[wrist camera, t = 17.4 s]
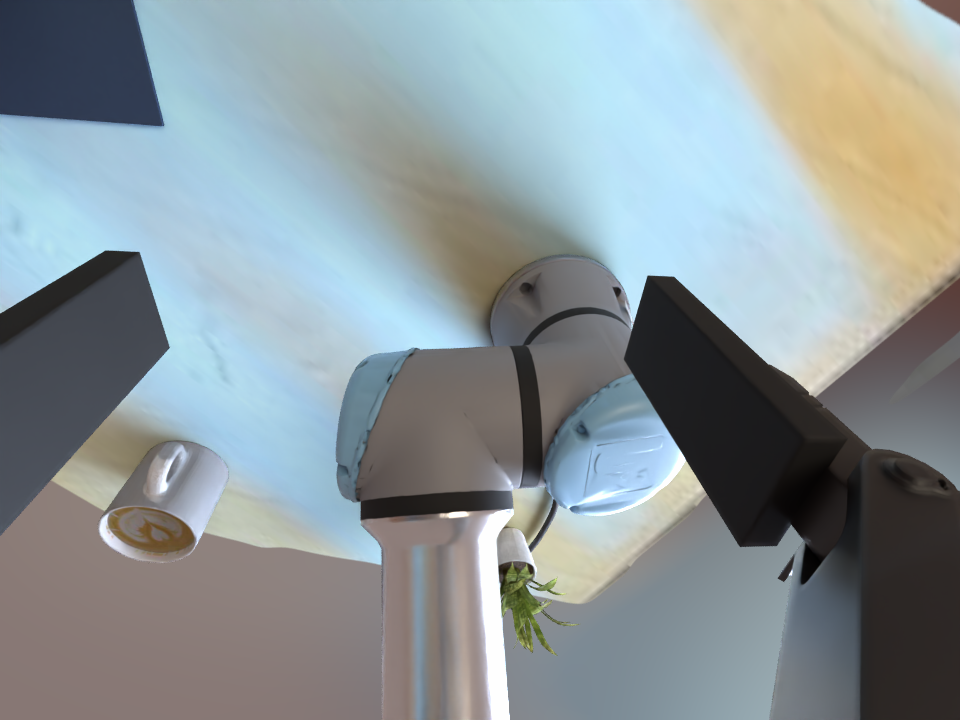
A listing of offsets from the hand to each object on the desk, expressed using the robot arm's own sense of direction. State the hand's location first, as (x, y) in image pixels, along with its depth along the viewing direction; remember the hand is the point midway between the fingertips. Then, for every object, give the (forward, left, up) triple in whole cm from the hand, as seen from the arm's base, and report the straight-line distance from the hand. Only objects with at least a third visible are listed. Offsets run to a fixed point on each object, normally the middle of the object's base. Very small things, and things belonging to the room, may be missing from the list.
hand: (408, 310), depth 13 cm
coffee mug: (-40, +29, -35) cm, 60 cm away
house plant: (-57, -15, -35) cm, 68 cm away
